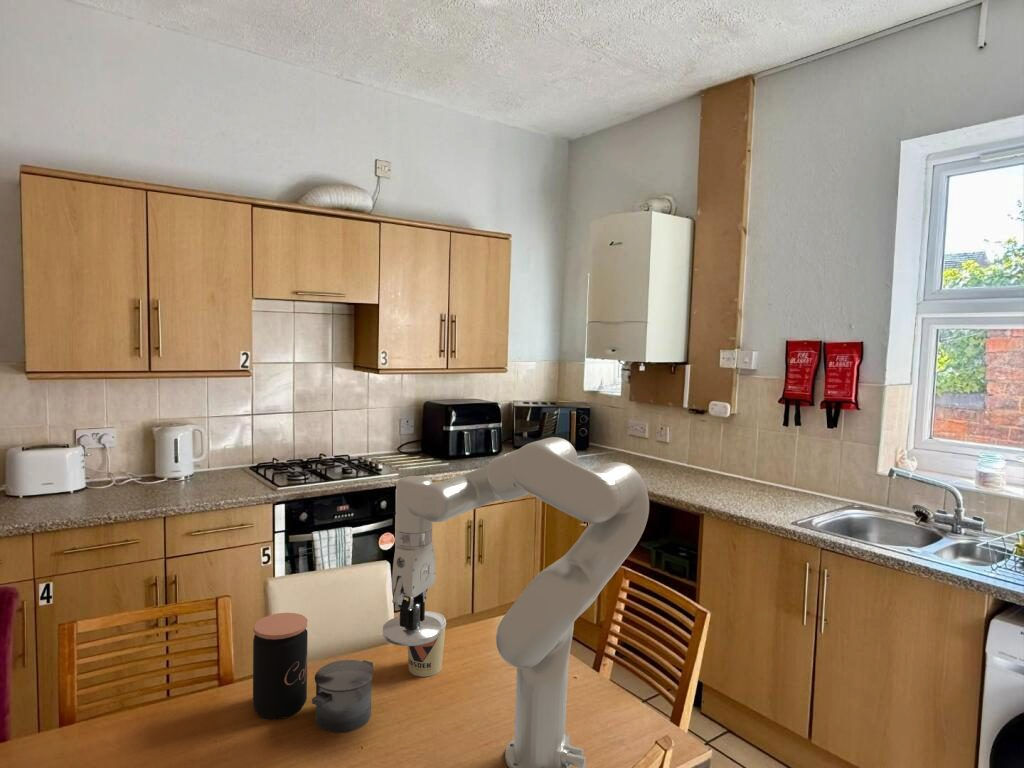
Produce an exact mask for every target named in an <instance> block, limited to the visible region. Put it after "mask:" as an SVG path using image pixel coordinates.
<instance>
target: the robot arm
mask: <svg viewBox="0 0 1024 768" xmlns="http://www.w3.org/2000/svg"><path fill="white" fill-rule="evenodd" d="M647 489H648V488H647V486H646V483H645V481H644V480H643V478H642V476H641V474H640V473H639V472H638V471H637V469H636V468H634V467H633V466H631V465H629V464H627V463H624V462H619V461H618V462H617V461H616V462H614V461H613V462H607V463H603V464H601V465H599V466H597V467H595V468H594V467H593V468H592V469H588V468H586V467H584V466H582V465H580V464H579V456H578V453H577V451H576V448H575V447H574V446H573V444H572V443H571V442H570V441H568V440H566V439H564V438H562V437H557V436H556V437H554V436H551V437H546V438H543V439H539V440H536V441H533V442H529V443H526V444H525V445H523V446H522V447H520V448H518V449H515V450H513V451H510V452H508V453H505V454H502V455H499V456H496V457H494V458H493V459H491V460H490V461H489V463H488V464H487V465H485V466H483V467H482V466H481V468H477V469H474V470H472V471H470V472H466V473H464V474H461V475H458V476H454V477H452V478H448V479H445V480H441V481H438V482H434V483H433V481H432V479H431V478H429V477H428V476H427V477H426V476H423V475H408V476H403V477H401V478H399V479H398V480H397V482H396V488H395V531H394V532H395V537H394V540H395V542H394V544H395V550H394V556H393V563H392V577H391V579H392V580H391V587H392V593H393V597H392V603H393V604H395V605H397V606H398V609H399V616H400V626H401V627H405V628H409V629H413V628H414V619H415V609H413V600H416V601H419V602H420V621H423V620H424V619H425V611H426V601H427V592H428V589H429V588H431V587H433V586H434V584H435V582H436V555H435V547H434V541H433V523H443V522H446V521H448V520H451V519H453V518H455V517H457V516H460V515H463V514H465V513H468V512H471V511H473V510H475V509H478V508H480V507H484V506H486V505H489V504H493V503H495V502H499V501H503V502H511V501H513V500H516V499H519V498H522V497H525V496H528V495H532V496H533V497H535V498H536V499H538V500H540V501H542V502H543V503H546V504H548V505H550V506H552V507H553V508H555V509H557V510H559V511H561V512H564V514H567V515H569V516H570V517H573V518H575V519H577V520H579V521H581V522H584V523H588V524H589V525H587V527H586V528H585V529H584V530H583V532H581V535H580V536H579V538H578V539H577V541H576V542H575V543H574V544H573V545H572V546H571V548H570V549H569V550H568V551H567V552H566V553H565V554H564V555H563V556H561V557H560V558H559V559H557V560H556V561H554V562H553V563H551V564H549V565H548V566H547V567H545V568H544V569H542V570H541V571H540V572H538V574H537V575H536V576H535V577H534V578H533V579H532V580H531V581H530V582H529V583H528V584H527V586H526V588H524V589H523V591H522V593H520V595H519V596H518V598H517V599H516V600H515V602H514V603H513V604H512V605H511V607H510V608H508V610H507V612H506V613H505V614H504V615H503V617H502V619H501V620H500V622H499V623H498V626H497V628H496V629H497V630H496V633H495V641H496V642H495V643H496V644H495V645H496V648H497V651H498V653H499V655H500V657H501V659H502V660H503V661H504V662H505V663H506V664H508V665H510V666H511V667H514V668H516V679H515V680H516V683H515V707H514V731H513V732H514V733H513V734H514V735H513V736H514V737H513V739H512V740H511V741H510V742H509V743H508V744H507V746H506V747H505V752H504V753H505V755H504V759H505V764H506V765H507V767H508V768H572V766H574V767H577V768H586V764H587V757H586V756H583V755H584V752H585V751H584V748H581V747H577V746H574V745H572V744H571V743H570V739H571V737H570V734H566V722H567V702H568V701H567V699H568V698H567V695H568V681H569V680H568V679H569V663H570V662H569V661H570V654H571V653H570V652H571V647H572V642H573V634H574V629H575V627H574V626H575V621H577V619H578V618H579V617H580V616H581V615H582V614H583V613H585V611H587V610H588V609H589V608H590V607H591V605H593V603H594V602H595V600H596V599H597V598H598V596H599V594H600V593H601V591H602V590H603V588H604V587H605V586H606V585H607V584H608V583H609V581H610V580H611V579H612V578H613V576H614V575H615V574H616V572H618V570H619V569H620V567H621V565H622V564H623V563H624V562H625V560H626V559H627V558H628V557H629V556H630V554H631V553H632V552H633V550H634V549H635V547H636V546H637V544H638V542H639V541H640V539H641V538H642V535H643V533H644V531H645V529H646V525H647V522H648V519H649V515H650V499H649V494H648V490H647ZM405 598H407V599H408V600H407V599H405ZM407 601H408V602H407Z"/></svg>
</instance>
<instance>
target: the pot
mask: <svg viewBox="0 0 1024 768" xmlns="http://www.w3.org/2000/svg"><path fill="white" fill-rule="evenodd" d="M373 668H374V662H373V661H372V662H371V661H368V660H364V659H363V660H356V659H343V660H337V661H333V662H330V663H327V664H325V665H324V666H322V667H320V668H319V669H318V670H317V671H316V673H315V675H314V682H315V696H314V697H312V698H311V704H312V705H315V723H316V725H317V727H319V729H321V730H323V731H325V732H329V733H337V734H339V733H341V734H343V733H349V732H353V731H356V730H358V729H359V728H362V727H363V726H365V725H366V724H367V723H368V722H369V720H371V717H372V686H373V685H372V683H373V681H372V680H373V679H372V678H373V676H374V669H373Z"/></svg>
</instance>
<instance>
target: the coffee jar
mask: <svg viewBox="0 0 1024 768" xmlns="http://www.w3.org/2000/svg"><path fill="white" fill-rule="evenodd" d="M307 627H308V618H307V617H306V616H305V615H302V614H300V613H296V612H280V613H279V612H278V613H273V614H269V615H267V616H264V617H262V618H259V619H258V620H257V621H256V622H255V623H254V625H253V629H252V630H253V632H254V636H253V641H252V653H253V654H252V708H253V710H254V712H255V713H256V714H257V715H258V716H259V717H260V718H262V719H266V720H276V721H277V720H283V719H287V718H290V717H291V716H293V715H295V714H297V713H298V712H300V711H301V710H302V708H303V707H304V705H305V703H307V699H308V698H307V697H308V695H307V694H308V635H309V634H308V630H307Z"/></svg>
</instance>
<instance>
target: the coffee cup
mask: <svg viewBox="0 0 1024 768" xmlns="http://www.w3.org/2000/svg"><path fill="white" fill-rule="evenodd" d="M425 615H426V616H430V617H433V618H435V619H437V620H438V621H439V622H440V623H441V634H440V636H439V637H438V638H437V639H436V640H434V641H432V642H430V643H427V644H423V645H418V646H407V659H408V660H407V661H408V671H409V672H410V673H411V675H413V676H416V677H426V678H427V677H431V676H435V675H437V674H438V673H440V672H441V669H442V666H443V658H444V657H443V656H444V647H445V636H446V626H447V620H446V618H445V616H444V615H443V614H442V613H440V612H436V611H430V610H429V611H427V610H425Z"/></svg>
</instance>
